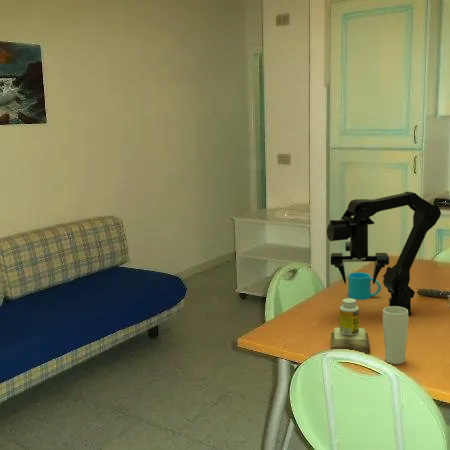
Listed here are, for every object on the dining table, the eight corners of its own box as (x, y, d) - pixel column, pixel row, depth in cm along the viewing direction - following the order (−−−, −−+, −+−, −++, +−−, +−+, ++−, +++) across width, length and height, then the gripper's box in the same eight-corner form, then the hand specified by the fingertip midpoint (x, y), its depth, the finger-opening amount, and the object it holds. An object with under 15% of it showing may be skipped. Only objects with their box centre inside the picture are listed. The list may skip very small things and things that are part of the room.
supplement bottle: (354, 337, 171) (354, 304, 169) (337, 334, 174) (336, 301, 172) (361, 331, 175) (361, 298, 173) (344, 328, 178) (344, 296, 176)
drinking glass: (379, 357, 166) (379, 306, 163) (402, 355, 167) (402, 305, 164) (387, 367, 160) (387, 315, 157) (411, 365, 160) (412, 313, 157)
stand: (367, 339, 179) (367, 326, 179) (370, 353, 169) (370, 340, 168) (331, 338, 181) (331, 326, 181) (331, 353, 171) (331, 340, 170)
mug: (346, 298, 218) (346, 277, 217) (351, 292, 225) (351, 271, 224) (378, 301, 213) (378, 280, 211) (382, 294, 220) (383, 274, 219)
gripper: (386, 232, 198) (385, 277, 201) (330, 233, 202) (330, 277, 205) (389, 240, 188) (389, 286, 191) (330, 240, 191) (330, 286, 194)
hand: (359, 283), depth 195 cm, fingers open, 9 cm apart
